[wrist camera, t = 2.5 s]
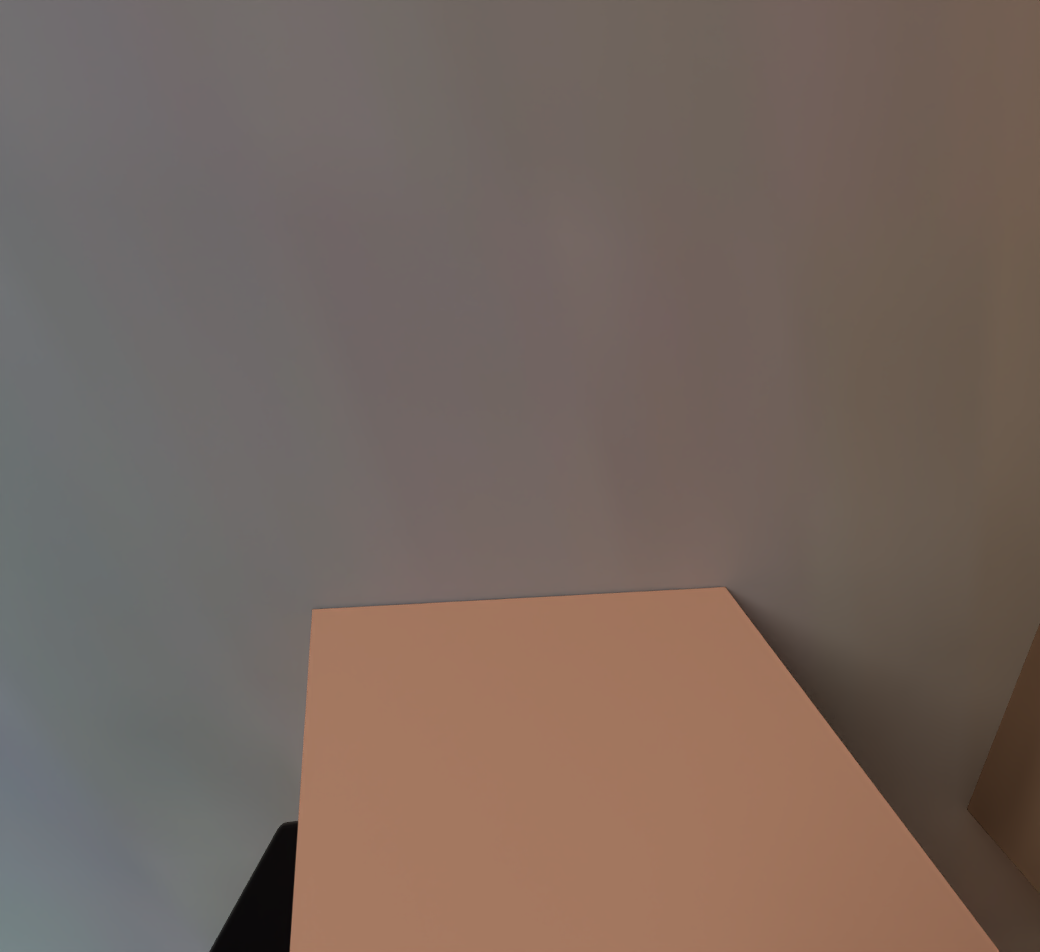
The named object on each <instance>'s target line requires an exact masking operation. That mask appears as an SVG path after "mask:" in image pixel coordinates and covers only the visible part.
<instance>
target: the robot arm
mask: <svg viewBox="0 0 1040 952" xmlns="http://www.w3.org/2000/svg"><path fill="white" fill-rule="evenodd" d="M297 834H298V821H293V822H286V823H283V824H282V825H281V826H280V827H279V828H278V830H277V831H276V833H275V835H274V836H273V838H272V840H271V842H270V844H269V845H268V847H267V849H266V851H265V853H264V854H263V856H262V858H261V860H260V862H259V863H258V865H257V867H256V869H255V871H254V872H253V874H252V876H251V878H250V880H249V881H248V883H247V885H246V887H245V889H244V890H243V892H242V894H241V896H240V898H239V899H238V901H237V903H236V905H235V907H234V908H233V910H232V912H231V914H230V915H229V917H228V919H227V921H226V923H225V924H224V926H223V928H222V930H221V932H220V933H219V935H218V937H217V939H216V941H215V942H214V944H213V946H212V948H211V950H210V951H209V952H290V940H291V925H292V910H293V895H294V880H295V864H296V849H297Z"/></svg>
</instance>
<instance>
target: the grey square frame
mask: <svg viewBox="0 0 1040 952" xmlns="http://www.w3.org/2000/svg"><path fill="white" fill-rule="evenodd" d="M967 810H968V811H969V812H970V813H971V814H972V816H973V817H974V818H975V819H976V820H977V821H978V823H979V824H980V825H981V826H982V827H983V828H984V830H985V831H986V832H987V833H988V834H989V835H990V837H991V838H992V839H993V840H994V841H995V842H996V844H997V845H998V846H999V847H1000V848H1001V849H1002V851H1003V852H1004V853H1005V854H1006V855H1007V856H1008V858H1009V859H1010V860H1011V861H1012V862H1013V863H1014V865H1015V866H1016V867H1017V868H1018V869H1019V870H1020V872H1021V873H1022V874H1023V875H1024V876H1025V877H1026V879H1027V880H1028V881H1029V882H1030V883H1031V884H1032V886H1033V887H1034V888H1035V889H1036V890H1037V891H1038V893H1039V894H1040V624H1039V627H1038V630H1037V632H1036V635H1035V637H1034V640H1033V642H1032V645H1031V647H1030V650H1029V652H1028V655H1027V658H1026V660H1025V663H1024V665H1023V668H1022V670H1021V673H1020V675H1019V678H1018V680H1017V683H1016V686H1015V688H1014V691H1013V693H1012V696H1011V698H1010V701H1009V703H1008V706H1007V708H1006V711H1005V713H1004V716H1003V719H1002V721H1001V724H1000V726H999V729H998V731H997V734H996V736H995V739H994V741H993V744H992V747H991V749H990V752H989V754H988V757H987V759H986V762H985V764H984V767H983V769H982V772H981V775H980V777H979V780H978V782H977V785H976V787H975V790H974V792H973V795H972V797H971V800H970V803H969V805H968V808H967Z"/></svg>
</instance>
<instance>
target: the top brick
mask: <svg viewBox="0 0 1040 952" xmlns="http://www.w3.org/2000/svg"><path fill="white" fill-rule="evenodd" d="M290 952H1000V951H999V950H998V949H997V947H996V946H995V945H994V943H993V942H992V941H991V940H990V938H989V937H988V936H987V934H986V933H985V932H984V930H983V929H982V928H981V926H980V925H979V924H978V922H977V921H976V920H975V918H974V917H973V916H972V914H971V913H970V912H969V910H968V909H967V908H966V906H965V905H964V904H963V902H962V901H961V900H960V898H959V897H958V896H957V894H956V893H955V892H954V890H953V889H952V888H951V886H950V885H949V884H948V882H947V881H946V880H945V878H944V877H943V876H942V874H941V873H940V872H939V870H938V869H937V868H936V866H935V865H934V864H933V862H932V861H931V860H930V858H929V857H928V856H927V854H926V853H925V852H924V850H923V849H922V848H921V847H920V845H919V844H918V843H917V841H916V840H915V839H914V837H913V836H912V835H911V833H910V832H909V831H908V829H907V828H906V827H905V825H904V824H903V823H902V821H901V820H900V819H899V817H898V816H897V815H896V813H895V812H894V811H893V809H892V808H891V807H890V805H889V804H888V803H887V801H886V800H885V799H884V797H883V796H882V795H881V793H880V792H879V791H878V789H877V788H876V787H875V785H874V784H873V783H872V781H871V780H870V779H869V777H868V776H867V775H866V773H865V772H864V771H863V769H862V768H861V767H860V765H859V764H858V763H857V761H856V760H855V759H854V758H853V756H852V755H851V754H850V752H849V751H848V750H847V748H846V747H845V746H844V744H843V743H842V742H841V740H840V739H839V738H838V736H837V735H836V734H835V732H834V731H833V730H832V728H831V727H830V726H829V724H828V723H827V722H826V720H825V719H824V718H823V716H822V715H821V714H820V712H819V711H818V710H817V708H816V707H815V706H814V704H813V703H812V702H811V700H810V699H809V698H808V696H807V695H806V694H805V692H804V691H803V690H802V688H801V687H800V686H799V684H798V683H797V682H796V680H795V679H794V678H793V676H792V675H791V674H790V672H789V671H788V670H787V669H786V667H785V666H784V665H783V663H782V662H781V661H780V659H779V658H778V657H777V655H776V654H775V653H774V651H773V650H772V649H771V647H770V646H769V645H768V643H767V642H766V641H765V639H764V638H763V637H762V635H761V634H760V633H759V631H758V630H757V629H756V627H755V626H754V625H753V623H752V622H751V621H750V619H749V618H748V617H747V615H746V614H745V613H744V611H743V610H742V609H741V607H740V606H739V605H738V603H737V602H736V601H735V599H734V598H733V597H732V595H731V594H730V593H729V591H728V590H727V589H726V587H718V588H699V589H681V590H662V591H644V592H626V593H607V594H589V595H570V596H552V597H533V598H515V599H497V600H478V601H460V602H441V603H423V604H404V605H386V606H368V607H349V608H331V609H312V623H311V638H310V653H309V668H308V683H307V698H306V713H305V728H304V744H303V759H302V774H301V789H300V804H299V819H298V834H297V849H296V864H295V880H294V895H293V910H292V925H291V940H290Z"/></svg>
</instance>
